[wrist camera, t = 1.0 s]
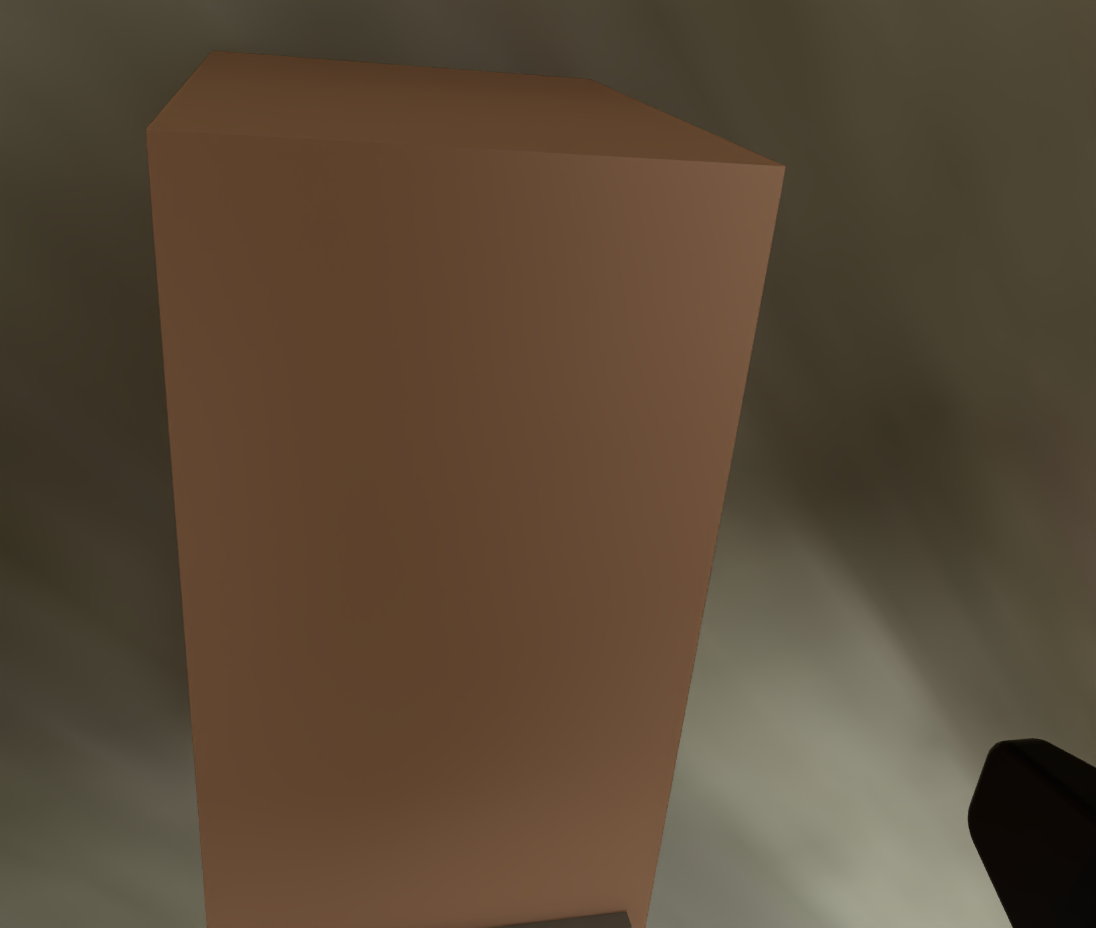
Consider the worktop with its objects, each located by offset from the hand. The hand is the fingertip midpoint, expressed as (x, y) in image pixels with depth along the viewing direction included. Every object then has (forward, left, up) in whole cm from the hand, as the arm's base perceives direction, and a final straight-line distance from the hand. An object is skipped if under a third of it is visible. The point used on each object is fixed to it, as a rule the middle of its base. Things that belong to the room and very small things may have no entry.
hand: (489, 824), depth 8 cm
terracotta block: (0, 0, -7) cm, 7 cm away
